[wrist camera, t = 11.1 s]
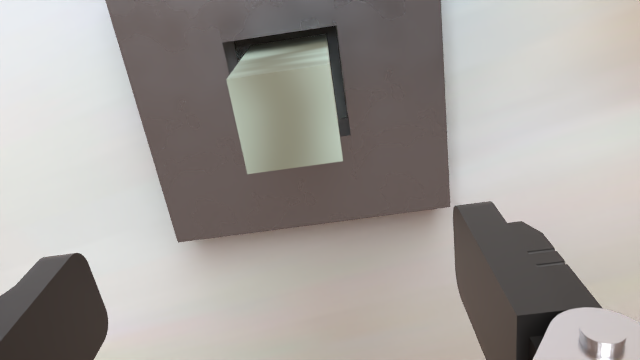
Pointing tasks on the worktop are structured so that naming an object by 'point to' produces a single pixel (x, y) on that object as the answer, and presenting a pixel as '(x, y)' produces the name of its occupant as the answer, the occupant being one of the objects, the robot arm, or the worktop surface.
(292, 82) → the peg
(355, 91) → the hole block
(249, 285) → the worktop surface
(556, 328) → the robot arm
